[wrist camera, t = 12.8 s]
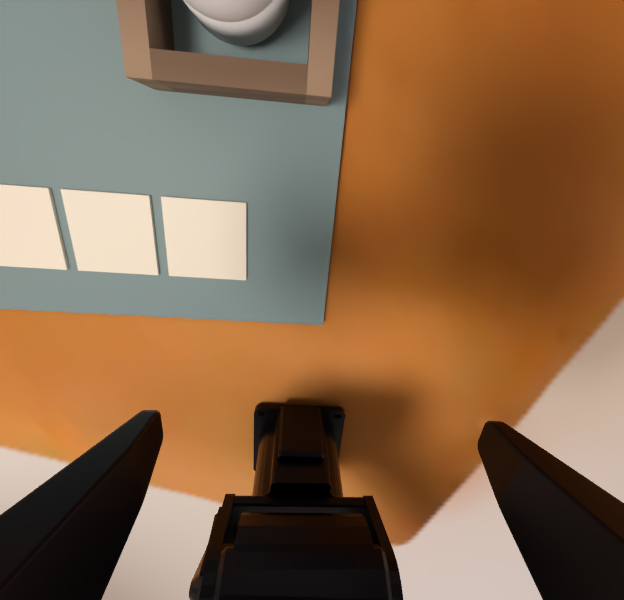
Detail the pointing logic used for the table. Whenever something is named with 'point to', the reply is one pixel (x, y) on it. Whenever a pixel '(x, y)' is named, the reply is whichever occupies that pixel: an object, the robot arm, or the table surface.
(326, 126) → the board
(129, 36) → the box
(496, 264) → the table surface
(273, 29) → the dome
